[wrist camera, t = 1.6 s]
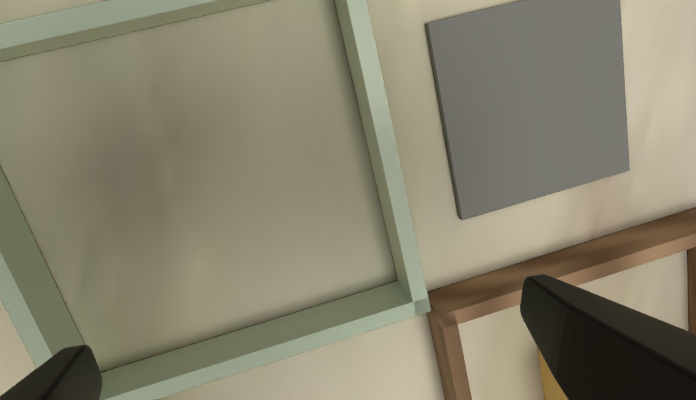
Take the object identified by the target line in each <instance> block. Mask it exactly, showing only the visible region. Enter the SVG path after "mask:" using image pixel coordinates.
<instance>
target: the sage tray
mask: <svg viewBox="0 0 696 400" xmlns="http://www.w3.org/2000/svg"><path fill="white" fill-rule="evenodd" d="M265 1H269V0H107V1H103V2H98V3H93V4H89V5H84V6H80V7H75V8H70V9H66V10H61V11H57V12H52V13H47V14H43V15H38V16H34V17H29V18H24V19H20V20H15V21H11V22H6V23H1V24H0V61H5V60H9V59H13V58H18V57H22V56H27V55H31V54H35V53H40V52H44V51H49V50H53V49H58V48H62V47H66V46H71V45H75V44H80V43H84V42H88V41H93V40H97V39H102V38H106V37H110V36H115V35H119V34H124V33H128V32H133V31H137V30H141V29H146V28H150V27H155V26H159V25H163V24H168V23H172V22H177V21H181V20H185V19H190V18H194V17H199V16H203V15H207V14H212V13H216V12H221V11H225V10H230V9H234V8H238V7H243V6H247V5H252V4H256V3H260V2H265ZM335 4H336V9H337V13H338V18H339V22H340V26H341V31H342V35H343V40H344V44H345V48H346V53H347V57H348V62H349V66H350V70H351V75H352V79H353V84H354V88H355V92H356V97H357V101H358V106H359V110H360V115H361V119H362V123H363V128H364V132H365V137H366V141H367V145H368V150H369V154H370V159H371V163H372V167H373V172H374V176H375V181H376V185H377V189H378V194H379V198H380V203H381V207H382V211H383V216H384V220H385V225H386V229H387V233H388V238H389V242H390V247H391V251H392V256H393V260H394V264H395V269H396V273H397V278H398V281H396V282H393V283H389V284H386V285H383V286H380V287H377V288H373V289H370V290H367V291H364V292H360V293H357V294H354V295H351V296H347V297H344V298H341V299H338V300H334V301H331V302H328V303H325V304H322V305H318V306H315V307H312V308H309V309H305V310H302V311H299V312H296V313H292V314H289V315H286V316H283V317H279V318H276V319H273V320H270V321H267V322H263V323H260V324H257V325H254V326H250V327H247V328H244V329H241V330H237V331H234V332H231V333H228V334H224V335H221V336H218V337H215V338H212V339H208V340H205V341H202V342H199V343H195V344H192V345H189V346H186V347H182V348H179V349H176V350H173V351H170V352H166V353H163V354H160V355H157V356H153V357H150V358H147V359H144V360H140V361H137V362H134V363H131V364H127V365H124V366H121V367H118V368H115V369H111V370H108V371H105V372H102V373H101V376H102V390H101V395H100V399H99V400H155V399H158V398H161V397H165V396H168V395H171V394H174V393H177V392H180V391H183V390H186V389H190V388H193V387H196V386H199V385H202V384H205V383H208V382H211V381H215V380H218V379H221V378H224V377H227V376H230V375H233V374H236V373H240V372H243V371H246V370H249V369H252V368H255V367H258V366H261V365H265V364H268V363H271V362H274V361H277V360H280V359H283V358H286V357H290V356H293V355H296V354H299V353H302V352H305V351H308V350H311V349H315V348H318V347H321V346H324V345H327V344H330V343H333V342H336V341H340V340H343V339H346V338H349V337H352V336H355V335H358V334H361V333H365V332H368V331H371V330H374V329H377V328H380V327H383V326H386V325H390V324H393V323H396V322H399V321H402V320H405V319H408V318H411V317H415V316H418V315H421V314H424V313H427V312H430V311H431V308H430V303H429V299H428V294H427V289H426V284H425V279H424V274H423V270H422V265H421V260H420V255H419V250H418V246H417V241H416V236H415V231H414V226H413V222H412V217H411V212H410V207H409V202H408V197H407V193H406V188H405V183H404V178H403V173H402V169H401V164H400V159H399V154H398V149H397V145H396V140H395V135H394V130H393V125H392V121H391V116H390V111H389V106H388V101H387V96H386V92H385V87H384V82H383V77H382V72H381V68H380V63H379V58H378V53H377V48H376V44H375V39H374V34H373V29H372V24H371V19H370V15H369V10H368V5H367V0H335ZM0 298H1V300H2V302H3V304H4V306H5V308H6V310H7V312H8V314H9V316H10V318H11V320H12V322H13V324H14V325H15V327H16V329H17V331H18V333H19V335H20V337H21V339H22V341H23V343H24V345H25V347H26V349H27V351H28V352H29V354H30V356H31V358H32V360H33V362H34V364H35V366H36V368H38V367H39V366H41V365H42V364H43V363H45V362H46V361H47V360H48V359H50V358H51V357H52V356H54V355H55V354H56V353H58V352H59V351H60V350H62V349H63V348H66V347H70V346H77V345H84V342H83V340H82V338H81V336H80V334H79V332H78V330H77V328H76V326H75V323H74V321H73V319H72V317H71V315H70V313H69V311H68V309H67V307H66V304H65V302H64V300H63V298H62V296H61V294H60V292H59V290H58V288H57V285H56V283H55V281H54V279H53V277H52V275H51V273H50V271H49V269H48V266H47V264H46V262H45V260H44V258H43V256H42V254H41V252H40V250H39V247H38V245H37V243H36V241H35V239H34V237H33V235H32V233H31V231H30V228H29V226H28V224H27V222H26V220H25V218H24V216H23V214H22V212H21V209H20V207H19V205H18V203H17V201H16V199H15V197H14V195H13V193H12V190H11V188H10V186H9V184H8V182H7V180H6V178H5V176H4V174H3V171H2V169H1V167H0Z"/></svg>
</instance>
